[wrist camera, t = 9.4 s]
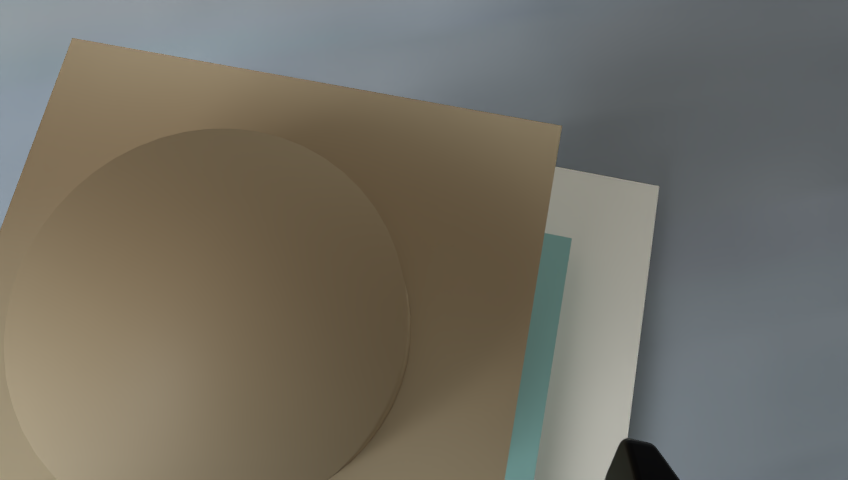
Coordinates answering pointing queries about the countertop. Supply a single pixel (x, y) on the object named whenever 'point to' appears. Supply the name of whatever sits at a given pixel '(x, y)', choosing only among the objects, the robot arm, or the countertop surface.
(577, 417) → the baseplate
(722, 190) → the countertop surface
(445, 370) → the beige tall block
